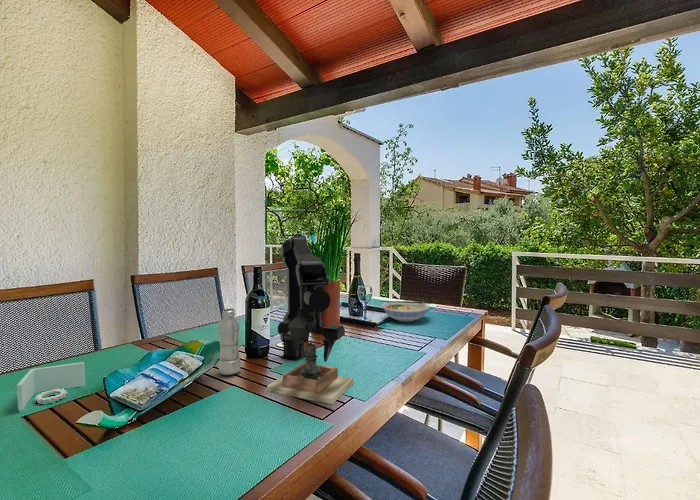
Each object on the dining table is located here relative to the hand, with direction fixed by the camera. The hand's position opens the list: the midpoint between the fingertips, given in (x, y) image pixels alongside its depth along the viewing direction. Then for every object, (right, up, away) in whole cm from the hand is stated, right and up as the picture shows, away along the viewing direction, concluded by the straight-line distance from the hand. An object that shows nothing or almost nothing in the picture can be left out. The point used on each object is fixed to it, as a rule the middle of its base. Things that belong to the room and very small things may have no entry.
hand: (311, 359), depth 108 cm
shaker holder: (0, -8, +1) cm, 8 cm away
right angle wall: (-68, -9, -6) cm, 69 cm away
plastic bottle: (-26, -8, +11) cm, 29 cm away
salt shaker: (0, -7, +1) cm, 7 cm away
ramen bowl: (+38, -4, +77) cm, 86 cm away
